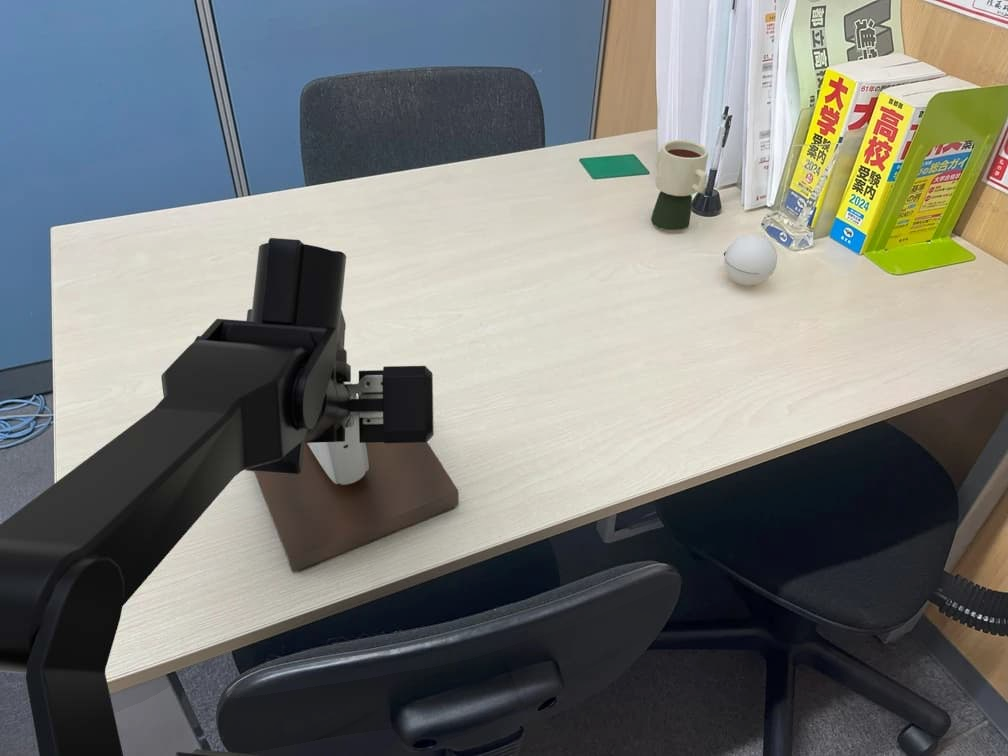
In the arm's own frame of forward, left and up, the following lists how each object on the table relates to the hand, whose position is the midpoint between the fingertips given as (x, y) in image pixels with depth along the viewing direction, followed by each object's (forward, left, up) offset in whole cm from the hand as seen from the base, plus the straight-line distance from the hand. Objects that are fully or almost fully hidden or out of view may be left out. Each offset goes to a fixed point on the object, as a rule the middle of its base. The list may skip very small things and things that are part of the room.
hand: (334, 410), depth 66 cm
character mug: (+66, +29, -11) cm, 73 cm away
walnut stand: (+1, 0, -11) cm, 11 cm away
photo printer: (0, +2, -8) cm, 8 cm away
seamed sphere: (+64, +11, -11) cm, 66 cm away
